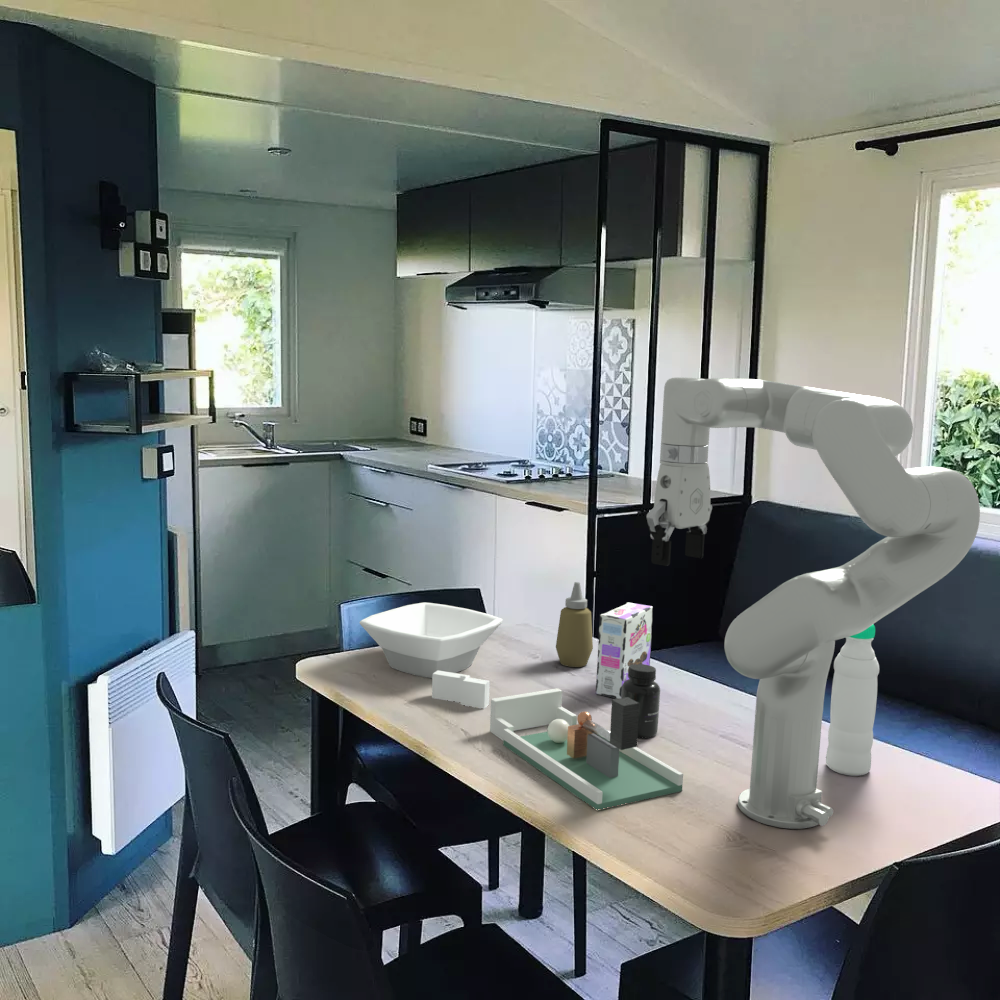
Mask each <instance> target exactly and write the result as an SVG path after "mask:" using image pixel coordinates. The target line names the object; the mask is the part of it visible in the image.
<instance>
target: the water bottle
mask: <svg viewBox="0 0 1000 1000" xmlns="http://www.w3.org/2000/svg"><path fill="white" fill-rule="evenodd" d="M874 624H875V623H874ZM874 624H873V625H871V626H870V627H868V628H867V629H866V630H864V631H862V632H860V633H858V634H855V635H852V636H849V637H846V638H845V643H844V645H843V646H842V647H841V648H840V652H839V653H838V654H837V656H836V657H835V658H834V661H833V669H834V673H833V678H832V685H831V698H830V711H829V712H830V714H829V715H830V718H829V719H830V724H829V727H828V733H827V740H828V741H827V742H828V743H827V748H826V755H825V763H826V766H827V767H828V768H829V769H830V770H832V771H833V772H835V773H838V774H840V775H844V776H853V777H858V776H864V775H866V774H868V773H869V772H870V770H871V767H872V747H873V743H874V730H873V729H874V724H875V718H876V709H877V700H878V698H877V697H878V675H879V674H880V664H879V661H878V659H877V657H876V654H875V650H874V649H873V647H872V642H873V640H874V638H875V637H876V636H875V635H876V626H875V625H874Z"/></svg>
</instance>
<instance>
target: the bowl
mask: <svg viewBox="0 0 1000 1000" xmlns="http://www.w3.org/2000/svg"><path fill="white" fill-rule="evenodd" d="M503 622H504V620H503V618H501V617H499V616H498V617H497V616H496V615H492V614H489V613H485V612H481V611H478V610H474V609H469V608H464V607H460V606H459V607H458V606H454V605H448V604H440V603H433V602H419V603H412V604H407V605H403V606H400V607H397V608H396V607H395V608H392V609H389V610H385V611H382V612H378V613H375V614H371V615H369V616H368V617H365V618H363V619H361V620H360V621H359V625H360V626H361V627H362V628H363V629H364V630H365V632H366V633H367V634H369V636H370V637H371V638H372V639H373V640H374V641H375V642H376V643H377V645H378V646H379V647H380V648H381V649H382V652H383V654H384V656H385V658H386V661H387V663H388V666H389V667H390V668H392V669H394V670H397V671H399V672H402V673H406V674H409V675H413V676H418V677H421V678H422V677H423V678H426V679H427V678H428V679H432V676H433V673H434V672H436V671H438V670H439V671H445V672H451V673H457V674H458V672H461V671H464V670H467V669H468V668H469V667H471V666H472V665H473V662H474V661H475V658H476V656H477V654H478V652H479V650H480V648H481V646H483V645H484V644H485V642H487V640H488V639H490V637H491V635H492V634H493V633H494V632H495V631H496V630H497V629H498V628H499V626H501V624H503Z"/></svg>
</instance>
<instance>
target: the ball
mask: <svg viewBox="0 0 1000 1000" xmlns="http://www.w3.org/2000/svg"><path fill="white" fill-rule="evenodd" d="M568 726H570V725H569V724H568V723H567V722H566V721H565V720H563V719H555V720H553V721H552V722H551V723H550V724H549V725H548V726H547V731H546V732H548V736H549V738H550V739H551V740H552V741H554V742H556V743H563V742H565V741H566V740H567V738H568Z"/></svg>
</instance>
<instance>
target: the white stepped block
mask: <svg viewBox="0 0 1000 1000" xmlns="http://www.w3.org/2000/svg"><path fill="white" fill-rule="evenodd" d="M431 679H432V681H431V686H432V687H431V688H432V689H431V699H436V700H442V701H447V700H448V702H453V701H455V702H454V703H459V702H461V703H459V705H461V706H463V705H465V707H469V706H472V707H471V708H475V707H478V708H477V709H481V708H483V709H482V710H485V709H486V708H488V707H489V706H490V689H491V688H490V686H491V685H490V683H491V680H487V679H480V678H475V677H471V675H469V674H462V673H458V672H457V673H451V672H445V671H439V670H438V671H436V672H434V673H433V676H432V678H431ZM488 705H489V706H488ZM487 706H488V707H487Z"/></svg>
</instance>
